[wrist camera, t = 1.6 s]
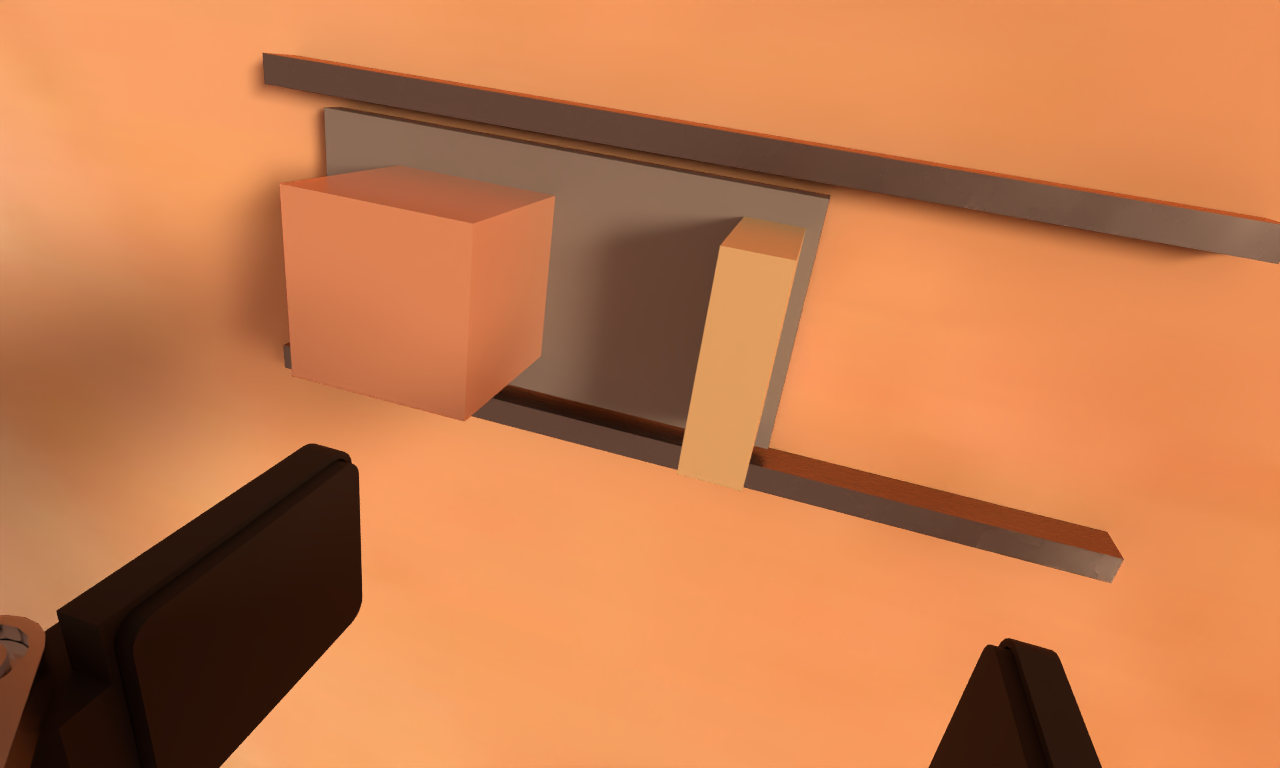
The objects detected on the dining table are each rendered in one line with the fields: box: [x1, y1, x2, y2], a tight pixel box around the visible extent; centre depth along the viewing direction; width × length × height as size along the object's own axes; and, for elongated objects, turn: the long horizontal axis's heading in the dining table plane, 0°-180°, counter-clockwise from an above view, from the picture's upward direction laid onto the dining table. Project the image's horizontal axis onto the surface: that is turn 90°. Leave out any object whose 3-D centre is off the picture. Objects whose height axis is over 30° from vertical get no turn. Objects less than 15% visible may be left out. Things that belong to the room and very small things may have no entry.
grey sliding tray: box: [324, 107, 830, 491], centre depth 24 cm, size 18×9×6 cm, turn 82°
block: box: [279, 165, 555, 421], centre depth 23 cm, size 6×6×6 cm
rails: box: [263, 53, 1280, 583], centre depth 25 cm, size 12×32×2 cm, turn 82°
